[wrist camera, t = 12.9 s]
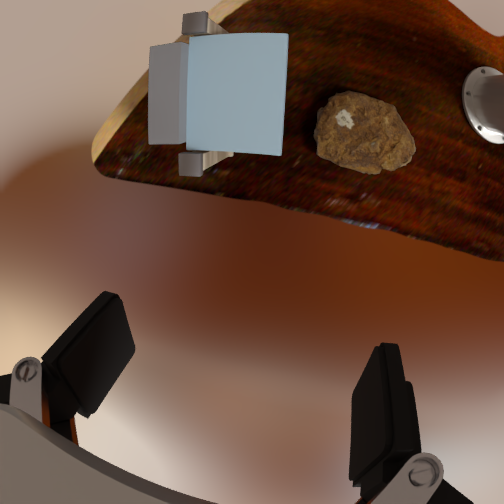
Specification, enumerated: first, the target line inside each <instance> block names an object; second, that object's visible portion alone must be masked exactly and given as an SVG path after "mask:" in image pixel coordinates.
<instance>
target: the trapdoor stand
mask: <svg viewBox="0 0 504 504" xmlns="http://www.w3.org/2000/svg"><path fill="white" fill-rule="evenodd" d="M182 34H184V35H191V34H192V35H194V36H206V35H218V34H230V33H228V32H227V31H226V30H224V29H223V28H222V27H220V26H219V25H218V24H216V23H215V22H214V21H212V20H211V19H209V18H208V13H207V12H206V11H202V12H195V13H188V14H183V22H182ZM232 156H233V152H226V151H205V150H196V151H193V152H182V153H179V175H181V176H198V177H200V176H202V175H203V170H205V169H207V168H208V167H210V166H212V165H214V164H216V163H217V162H219V161H221V160H223V159H225V158H226V157H232Z"/></svg>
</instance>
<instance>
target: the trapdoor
mask: <svg viewBox="0 0 504 504" xmlns="http://www.w3.org/2000/svg"><path fill="white" fill-rule="evenodd" d="M287 56H288V34H283V33H236V34H218V35H206V36H196V37H190V38H189V45H188V44H186V43H183V42H176V43H169V44H164V45H158V46H152V47H150V57H149V58H150V59H149V83H148V136H149V144H181V143H184V142H186V149H187V150H205V151H226V152H242V153H256V154H268V155H278V156H281V154H282V140H283V125H284V110H285V93H286V76H287Z"/></svg>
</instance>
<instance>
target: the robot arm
mask: <svg viewBox="0 0 504 504" xmlns="http://www.w3.org/2000/svg"><path fill="white" fill-rule="evenodd" d="M466 93H467V94H466ZM462 103H463V108H464V111H465V114H466V117H467V119H468V121H469V123H470V125H471V126H472V128H473V129H474V130H475V132H476V133H477V134H478V135H479V136H481V137H482V138H483V139H485V140H487V141H489V142H492V143H497V144H502V143H504V75H503V74H502V73H501V72H499V71H498V70H496V69H494V68H491V67H479V68H475V69H474V70H472V71H471V72H470V73H469V74H468V75H467V77H466V78H465V80H464V84H463V87H462ZM134 353H135V344H134V341H133V338H132V334H131V331H130V327H129V324H128V321H127V317H126V313H125V310H124V306H123V302H122V300H121V299H120V297H119V295H118V294H115V293H111V292H107V291H104V292H102V293H101V294H100V295H99V296H98V297H97V298H96V299H95V300H94V301H93V302H92V303H91V304H90V305H89V306H88V307H87V308H86V309H85V310H84V311H83V312H82V314H81V315H80V316H79V317H78V318H77V319H76V320H75V321H74V322H73V323H72V324H71V325H70V326H69V327H68V328H67V330H65V332H64V333H63V334H62V335H61V336H60V337H59V338H58V339H57V340H56V342H55V343H54V344H53V345H52V346H51V347H50V348H49V349H48V351H47V352H46V353H45V354H44V355H43V356H42V357H41V358H42V360H43V362H42V363H40V361H39V360H38V359H36V358H34V357H26V358H23V359H21V360H20V361H19V362H18V363H17V364H16V365H15V366H14V368H13V371H12V373H11V374H7V375H2V376H0V504H217V503H213V502H210V501H206V500H203V499H199V498H196V497H192V496H189V495H186V494H183V493H180V492H177V491H174V490H171V489H168V488H166V487H163V486H161V485H158V484H155V483H153V482H150V481H148V480H145V479H143V478H141V477H138V476H136V475H134V474H131V473H129V472H127V471H125V470H123V469H121V468H119V467H117V466H114V465H113V464H110V463H109V462H107V461H105V460H103V459H101V458H99V457H97V456H95V455H93V454H92V453H90V452H88V451H86V450H85V449H83V448H81V447H79V445H78V438H77V432H76V425H75V418H74V415H75V414H76V412H78V413H79V414H80V415H82V416H84V417H86V418H89V416H90V415H91V414H93V413H95V412H96V410H97V409H98V407H99V406H100V404H101V403H102V401H103V400H104V398H105V397H106V395H107V394H108V392H109V391H110V389H111V387H112V386H113V384H114V383H115V381H116V380H117V378H118V377H119V375H120V374H121V372H122V371H123V369H124V368H125V367H126V365H127V363H128V362H129V361H130V359H131V358H132V356H133V354H134ZM351 415H352V416H351V447H350V465H349V480H350V481H351V480H352V481H353V487H361V492H360V496H361V498H360V499H359V500H358V501H357V502H356V503H355V504H474V503H473V502H472V501H470V500H469V499H468V498H467V497H465V496H464V495H463V494H461V493H460V492H459V491H458V490H456V489H455V488H454V487H452V486H451V485H450V484H449V483H448V482H446V481H445V480H444V479H443V473H444V470H443V465H442V463H441V461H440V460H439V459H438V458H437V457H436V456H435V455H432V454H430V453H421V442H420V433H419V424H418V417H417V410H416V403H415V397H414V392H413V386H412V384H411V382H409V381H405V376H404V370H403V365H402V360H401V355H400V350H399V346H398V345H397V344H393V343H381V344H380V346H376V347H375V348H374V350H373V352H372V354H371V357H370V359H369V361H368V363H367V365H366V367H365V369H364V371H363V373H362V375H361V377H360V379H359V381H358V383H357V385H356V387H355V389H354V391H353V394H352V414H351Z"/></svg>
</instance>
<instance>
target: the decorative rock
mask: <svg viewBox="0 0 504 504" xmlns="http://www.w3.org/2000/svg"><path fill="white" fill-rule="evenodd" d="M316 125H317V126H316V129H315V130H314V139H315V140H316V143H317V155H318V156H319V157H321V158H324V159H327V160H330V161H332V162H333V163H335V164H337V165H339V166H341V167H346V168H350V169H353V170H356V171H359V172H362V173H367V174H369V175H370V174H379V173H380V171H381V169H387V170H390V171H392V170H396V169H397V167H401V166H404V165H405V166H406V164H407V163H409V162H410V161H411V159H412V155H413V154H414V152H415V151H416V148H415V142H414V139H413V137H412V136H411V135H410V131H409V130H408V128H407V126H406V125H405V124H404V122H403V121H402V120H401V117H400V115H399V114H398V113H397V111H396V108H395V106H393V105H391V104H388V103H384V102H383V101H381V100H378V99H375V98H372V97H369V96H367V95H365V94H362V93H357V92H352V91H346V92H343V93H340V94H339V93H336V95H335V96H332V97H330V98H329V100H328V103H327V105H326V106H325V107H324V108H323V107H322V108H320V109H319V110H318V112H317V123H316Z"/></svg>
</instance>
